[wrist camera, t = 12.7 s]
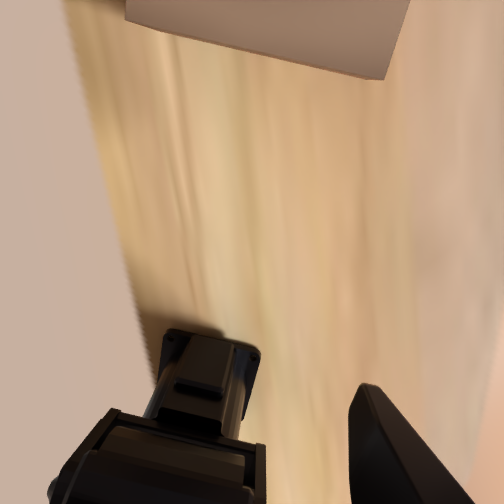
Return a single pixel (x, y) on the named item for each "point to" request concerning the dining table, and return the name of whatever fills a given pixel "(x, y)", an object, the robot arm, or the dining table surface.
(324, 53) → the walnut box
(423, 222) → the dining table surface
